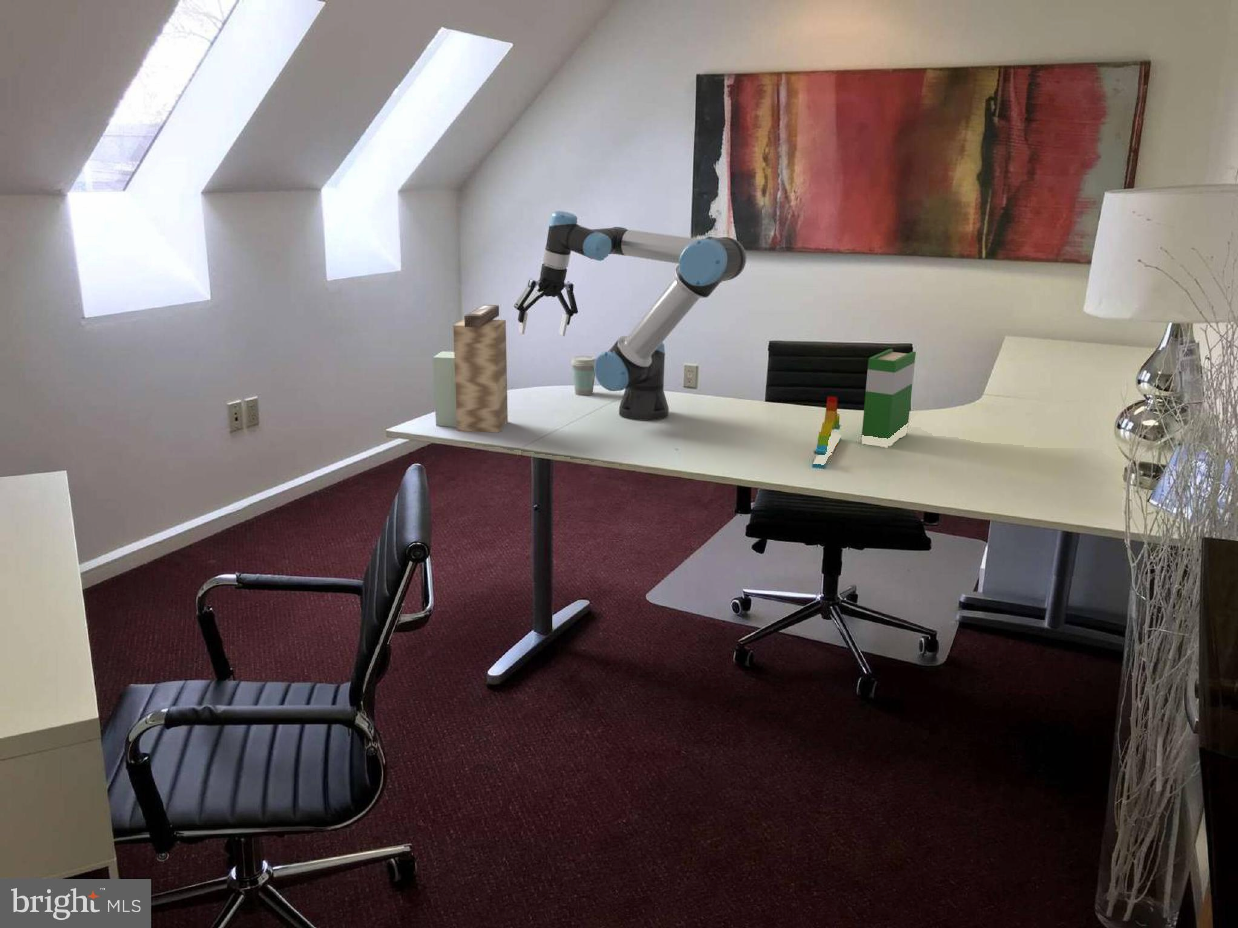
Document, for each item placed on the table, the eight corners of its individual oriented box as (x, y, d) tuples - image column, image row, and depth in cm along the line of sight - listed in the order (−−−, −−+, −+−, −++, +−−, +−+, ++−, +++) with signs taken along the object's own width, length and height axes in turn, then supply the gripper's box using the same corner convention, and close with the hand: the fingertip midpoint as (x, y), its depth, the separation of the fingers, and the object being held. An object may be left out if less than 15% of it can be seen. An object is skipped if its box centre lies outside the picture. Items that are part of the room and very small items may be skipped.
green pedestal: (467, 418, 286) (465, 352, 280) (459, 426, 278) (457, 358, 272) (444, 417, 287) (441, 351, 281) (435, 425, 278) (432, 357, 273)
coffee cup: (593, 397, 315) (593, 361, 312) (568, 395, 317) (568, 359, 313) (599, 391, 323) (599, 356, 320) (574, 390, 325) (574, 355, 321)
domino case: (499, 315, 283) (498, 304, 282) (480, 327, 262) (480, 315, 261) (484, 315, 283) (483, 304, 282) (464, 326, 262) (464, 315, 261)
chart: (824, 469, 244) (829, 412, 239) (812, 468, 245) (816, 411, 240) (841, 439, 271) (846, 387, 267) (830, 438, 272) (834, 386, 268)
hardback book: (881, 430, 280) (889, 348, 273) (907, 434, 276) (915, 351, 269) (860, 444, 266) (868, 358, 259) (887, 448, 262) (895, 361, 255)
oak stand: (507, 421, 284) (505, 320, 275) (498, 432, 272) (496, 326, 263) (467, 420, 285) (464, 318, 276) (457, 430, 273) (453, 325, 265)
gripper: (586, 264, 292) (572, 330, 300) (511, 258, 279) (499, 327, 288) (597, 272, 286) (583, 339, 295) (521, 266, 273) (508, 336, 282)
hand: (541, 333), depth 291 cm, fingers open, 13 cm apart
